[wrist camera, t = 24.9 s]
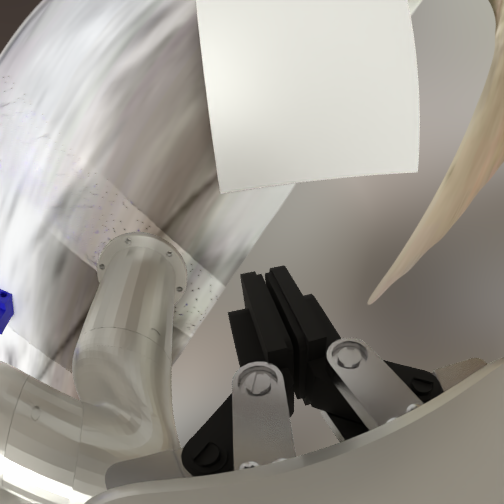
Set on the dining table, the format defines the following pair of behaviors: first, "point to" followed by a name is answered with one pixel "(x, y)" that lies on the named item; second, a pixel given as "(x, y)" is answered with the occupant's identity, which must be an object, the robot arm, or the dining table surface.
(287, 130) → the plate
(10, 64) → the dining table surface
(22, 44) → the dining table surface
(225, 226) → the dining table surface
